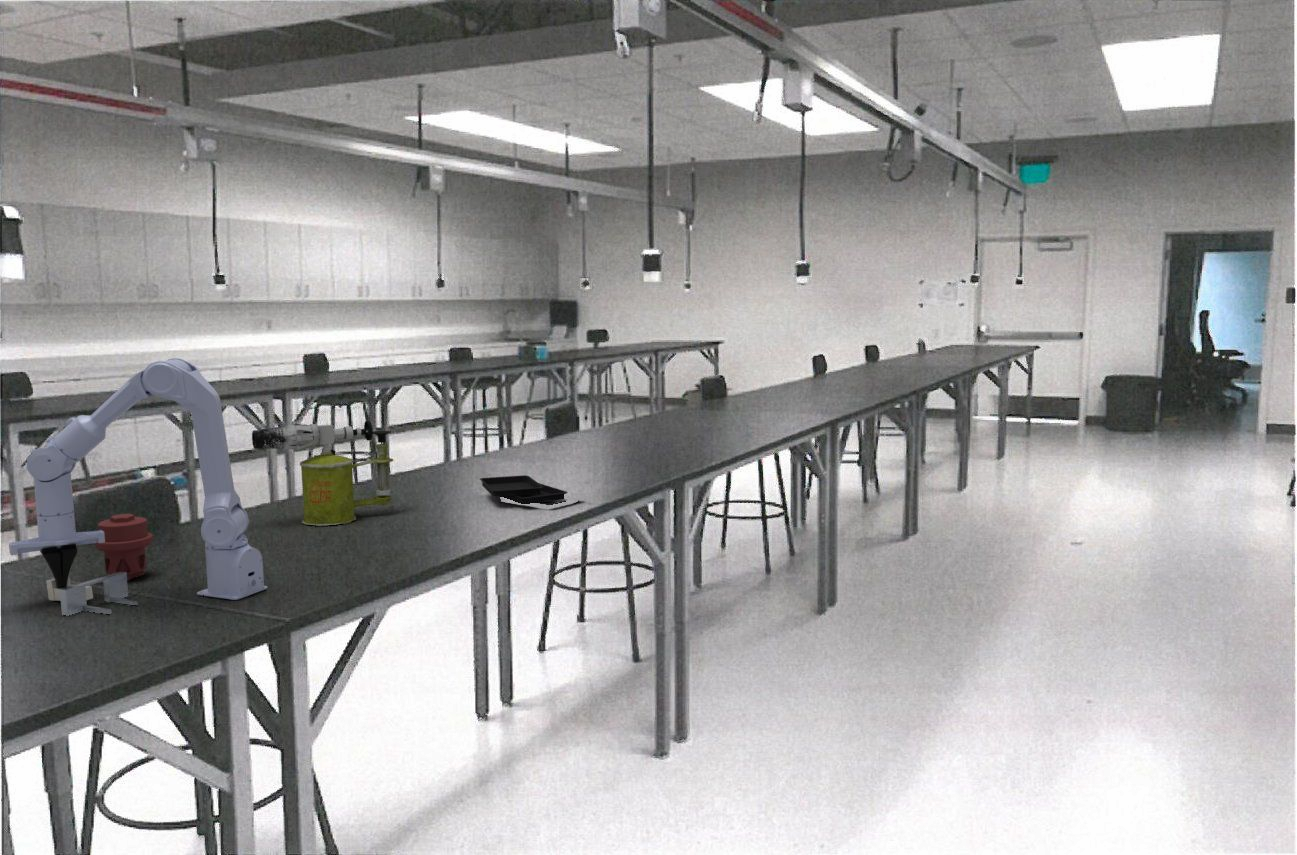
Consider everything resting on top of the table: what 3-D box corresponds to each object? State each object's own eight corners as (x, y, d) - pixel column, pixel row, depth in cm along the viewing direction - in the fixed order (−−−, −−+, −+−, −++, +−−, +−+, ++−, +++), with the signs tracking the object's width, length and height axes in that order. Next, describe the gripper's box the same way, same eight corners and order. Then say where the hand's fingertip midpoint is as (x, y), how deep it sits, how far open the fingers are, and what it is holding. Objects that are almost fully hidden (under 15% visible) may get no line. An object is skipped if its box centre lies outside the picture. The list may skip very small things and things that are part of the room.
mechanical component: (88, 579, 190) (141, 568, 198) (110, 588, 184) (164, 576, 192) (83, 516, 189) (137, 508, 197) (105, 524, 183) (160, 515, 190)
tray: (593, 499, 266) (592, 480, 266) (548, 516, 246) (547, 495, 245) (500, 491, 279) (500, 473, 279) (450, 506, 259) (449, 486, 258)
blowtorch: (403, 518, 244) (399, 417, 241) (264, 534, 227) (258, 427, 223) (387, 508, 255) (383, 413, 252) (253, 524, 238) (247, 421, 234)
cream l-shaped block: (94, 597, 175) (91, 578, 175) (76, 602, 173) (73, 582, 172) (63, 595, 181) (60, 576, 180) (45, 599, 178) (42, 580, 178)
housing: (152, 600, 177) (150, 575, 176) (92, 620, 166) (90, 593, 165) (122, 596, 179) (120, 571, 179) (61, 615, 168) (59, 589, 168)
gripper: (10, 522, 167) (17, 600, 169) (106, 510, 176) (111, 584, 178) (4, 516, 172) (11, 591, 174) (97, 504, 182) (103, 576, 183)
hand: (61, 587), depth 176 cm, fingers closed, pressing on cream l-shaped block
